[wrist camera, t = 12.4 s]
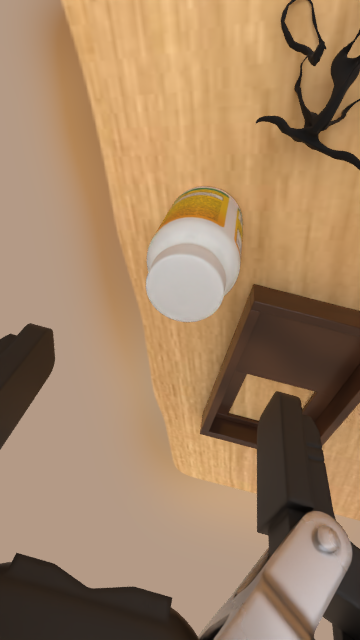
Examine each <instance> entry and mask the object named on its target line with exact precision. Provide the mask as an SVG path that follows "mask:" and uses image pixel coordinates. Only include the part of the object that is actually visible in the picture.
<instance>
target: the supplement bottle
mask: <svg viewBox="0 0 360 640" xmlns="http://www.w3.org/2000/svg"><path fill="white" fill-rule="evenodd" d="M242 236H243V218H242V213H241V210H240V208H239V206H238V204H237V203H236V201H235V200H234V199H233V198H232V197H231V196H230V195H229V194H228V193H226V192H225V191H223V190H221V189H218V188H214V187H205V186H203V187H196V188H192V189H190V190H188V191H186V192H184V193H183V194H182V195H181V196H179V197H178V198H177V200H176V201H175V202H174V204H173V205H172V207H171V209H170V210H169V212H168V213H167V215H166V217H165V219H164V220H163V222H162V224H161V225H160V227H159V229H158V230H157V232H156V234H155V235H154V237H153V239H152V241H151V243H150V245H149V248H148V252H147V268H148V275H147V279H146V291H147V295H148V298H149V300H150V301H151V303H152V304H153V306H154V307H155V308H156V309H157V310H158V311H159V312H160V313H162V314H163V315H165V316H166V317H168V318H170V319H173V320H177V321H181V322H196V321H200V320H203V319H205V318H207V317H209V316H211V315H212V314H213V313H214V312H215V311H216V310H217V309H218V308H219V306H220V305H221V303H222V300H223V297H224V296H225V295H226V294H227V293H228V292H229V291H230V290H231V288H232V287H233V286H234V284H235V282H236V280H237V278H238V275H239V271H240V263H241V249H242Z"/></svg>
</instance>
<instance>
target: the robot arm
mask: <svg viewBox="0 0 360 640" xmlns="http://www.w3.org/2000/svg"><path fill="white" fill-rule="evenodd" d="M54 362H55V353H54V339H53V331H52V329H49V328H45V327H42V326H38V325H34V324H31V323H30V324H28V325H26V326H25V327H24V328H23V330H22V331H21V332H20V333H19V334H18V335H17V336H16V335H13V334H9V335H7V336H5V337H3V338H2V339H0V449H1V448H2V446H3V444H4V443H5V442H6V440H7V439H8V437H9V436H10V434H11V433H12V431H13V430H14V428H15V427H16V425H17V424H18V422H19V421H20V419H21V418H22V416H23V415H24V413H25V412H26V410H27V409H28V407H29V406H30V404H31V403H32V401H33V400H34V398H35V396H36V395H37V394H38V392H39V390H40V389H41V388H42V386H43V384H44V383H45V381H46V380H47V378H48V377H49V375H50V373H51V372H52V369H53V366H54ZM257 532H258V533H262V534H265V535H269V548H268V549H267V550H266V551H265V553H264V554H263V555H262V556H261V558H260V559H259V560H258V562H257V563H256V564H255V566H254V567H253V568H252V570H251V571H250V572H249V573H248V575H247V576H246V577H245V579H244V580H243V582H242V583H241V584H240V585H239V587H238V588H237V589H236V590H235V592H234V593H233V595H232V596H231V597H230V598H229V599H228V601H227V602H226V603H225V604H224V605H223V606H222V607H221V608H220V610H219V611H218V612H217V613H216V614H215V616H214V617H213V618H212V619H211V620H210V622H209V623H208V624H207V626H206V627H205V628H204V630H203V631H202V632H201V633H200V635H199V636H197V635H196V633H195V632H194V630H193V629H192V627H191V626H190V625H189V624H188V622H187V621H186V620H185V619H184V618H183V617H182V616H181V615H180V614H179V613H178V612H177V611H175V610H174V609H172V608H171V602H172V598H171V597H168V596H165V595H161V594H158V593H154V592H151V591H147V590H144V589H140V588H137V587H118V588H117V587H116V588H96V589H92V588H88V587H86V586H85V585H83V584H82V583H81V582H79V581H78V580H76V579H75V578H73V577H72V576H71V575H69V574H68V573H67V572H65V571H64V570H62V569H61V568H60V567H58V566H57V565H55V564H53V563H50V562H46V561H43V560H40V559H36V558H33V557H29V556H26V555H22V554H19V553H16V555H15V557H14V559H13V561H12V562H7V563H2V564H0V640H315V639H314V632H315V630H316V628H317V626H318V624H319V621H320V620H321V618H322V616H323V617H324V618H325V619H327V620H328V621H330V622H331V623H332V626H333V636H334V640H360V549H359V548H358V547H356V546H355V545H354V544H353V543H352V542H351V541H350V540H349V538H348V536H347V534H346V532H345V530H344V529H343V528H342V526H341V525H340V524H339V523H338V522H337V521H336V519H335V516H334V512H333V507H332V501H331V496H330V490H329V484H328V478H327V472H326V467H325V463H324V455H323V450H322V443H321V438H320V432H319V430H318V428H317V426H316V425H315V423H314V421H313V419H312V417H310V416H306V415H303V414H302V407H301V401H300V398H299V397H296V396H293V395H289V394H285V393H282V392H278V391H277V392H275V393H274V395H273V397H272V398H271V400H270V402H269V403H268V405H267V407H266V408H265V410H264V412H263V413H262V415H261V417H260V420H259V423H258V428H257Z"/></svg>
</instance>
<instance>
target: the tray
mask: <svg viewBox="0 0 360 640" xmlns="http://www.w3.org/2000/svg"><path fill="white" fill-rule="evenodd" d="M246 374H251V375H254V376H258V377H262V378H266V379H270V380H274V381H277V382H281V383H285V384H289V385H293V386H297V387H300V388H304V389H308V390H312V391H315V393H314V394H313V396H312V397H311V399H310V400H309V401H308V403H307V404H306V406H305V407H304V408H303V410H302V414H303V415H306V416H310V417H312V419H313V421H314V423H315V425H316V426H317V428H318V430H319V432H320V438H321V443H322V446H323V444H324V443H325V442H326V441H327V440H328V439H329V437H330V436H331V435H332V434H333V433H334V432H335V430H336V429H337V428H338V427H339V426H340V425H341V424H342V422H343V421H344V420H345V419H346V418H347V417H348V415H349V414H350V413H351V412H352V411H353V410H354V408H355V407H356V406H357V405H358V404H359V403H360V311H356V310H352V309H349V308H345V307H341V306H337V305H333V304H329V303H325V302H321V301H317V300H313V299H309V298H306V297H302V296H298V295H294V294H290V293H286V292H282V291H278V290H274V289H270V288H267V287H263V286H259V285H253V288H252V290H251V293H250V295H249V298H248V300H247V303H246V305H245V308H244V311H243V313H242V316H241V318H240V321H239V323H238V326H237V328H236V331H235V333H234V336H233V339H232V341H231V344H230V346H229V349H228V351H227V354H226V356H225V359H224V362H223V364H222V367H221V369H220V372H219V374H218V377H217V379H216V382H215V384H214V387H213V390H212V392H211V395H210V397H209V400H208V402H207V405H206V407H205V410H204V413H203V415H202V422H201V429H200V434H202V435H206V436H210V437H214V438H217V439H221V440H225V441H229V442H233V443H236V444H240V445H244V446H248V447H251V448H255V449H257V428H258V423H259V421H255V420H252V419H248V418H244V417H240V416H236V415H233V414H229V410H230V408H231V406H232V404H233V402H234V400H235V398H236V396H237V394H238V391H239V389H240V387H241V385H242V383H243V381H244V379H245V377H246Z"/></svg>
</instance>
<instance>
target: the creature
mask: <svg viewBox="0 0 360 640" xmlns="http://www.w3.org/2000/svg"><path fill="white" fill-rule="evenodd" d="M294 1H295V0H291V1H290V2H289V3H288V4H287V6H286V8H285V9H284V11H283V13H282V17H281V27H282V31H283V33H284V36H285V39H286V41H287V43H288V45H289V47H291V48H292V49H294V50H295V51H297V52H301V53H303V54H304V55H307V57H308V60H309V62H310V63H311V65H313V66H316V64H317V63H318V62H319V61H320V58H321V56H322V54H323V51H324V49H326V46H325V42H324V41H323V40H322V39H321V36H320V34H319V32H318V29H317V24H316V19H315V13H314V8H313V3H312V1H311V0H308V1H309V2H310V4H311V6H312V19H313V24H314V27H315V29H316V32H317V35H318V38H319V45H318V47H317V48H316V50H315V52H313V51H312V50H311V49H310V48H309V47H307V46H305V45H302V44H299V43H297V42H295V41H294V40H293V38H292V36H291V34H290V32H289V30H288V28H287V26H286V24H285V22H284V21H285V18H286V14H287V10H288V6H289V5H290V4H292V3H293V2H294ZM359 35H360V30H359V32H358V34H357V36H356V37H355V39H354V41H353V42H351V43H350V44H348V45H347V46H346V47H344V48H343V49H342V50H341V51H340V52H339V53H338V54H337V56H336V57H335V59H334V60H333V62H332V66H331V76H332V79H333V82H334V88H333V92H332V95H331V98H330V100H329V101H328V103H327V105H326V107H325V108H324V109H323V110H322V111H321V112H320V114H319V115H318V114H316V113H314V112H310V111H309V110H308V109H307V107H306V106H305V104H304V102H303V99H302V94H301V88H300V82H301V77H302V64H303V62H304V61H305V59H306V58H307V57H306V58H305V59H304V61H303V62H302V63H301V66H300V68H301V69H300V76H299V78H298V80H297V82H296V85H295V91H296V93H297V95H298V98H299V102H300V105H301V109H302V113H303V116H304V119H305V125H304V128H302V129H295V128H290V127H289V125H288V124H287V122H286V121H285V120H284V119H283V118H281V117H278V116H264V117H261V118H259V119H258V120H257V121H256V123H258V122H261V121H265V122H271V123H273V124H276V125H277V126H278V128H279V129H280V130H281V132H282V133H284V134H286V135H288V136H290V137H291V138H292V139H293V140H295V141H297V142H303V143H305V144H306V145H307V146H308V147H310V148H311V149H314V150H317V151H319V152H322V153H324V154H326V155H328V156H330V157H332V158H334V159H339V160H345V161H347V162H349V163H351V164H353V165H354V166H356V167H357V168H358V169H359V170H360V160H359V159H358V158H357V157H356V156H355V155H353V154H351V153H349V152H346V151H337V150H332V149H330V148H328V147H326V146H325V145H323V144H322V143H321V142H320V141H319V139H318V134H319V133H320V132H321V131H323V130H326V129H327V128H328V127H329V126H331V125H333V124H335V123H337V122H339V121H340V120H342V119H343V118H345V116H346V113H347V112H348V110H349V109H350V108H351V107H352V106H353V105H354V104H355V103H356V102H358V101H360V99H359V100H357V101H355V102H354V103H352V104H351V105H349V106H348V107H347V108H345V109H344V110H343V112H342V115H341V117H340V118H338V119H337V120H334V121H331V120H332V118H333V116H334V114H335V112H336V110H337V109H338V107H339V105H340V103H341V101H342V99H343V97H344V95H345V93H346V91H347V90H348V88H349V87H350V85H351V84H352V83H353V82H354V81H355V79H356V78H357V76H358V74H359V72H360V56H358V57H356V58H347V54H348V52H349V51H350V49H351V47H352V45H353V44H354V42H355V40H356V39H357V37H358V36H359Z"/></svg>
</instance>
